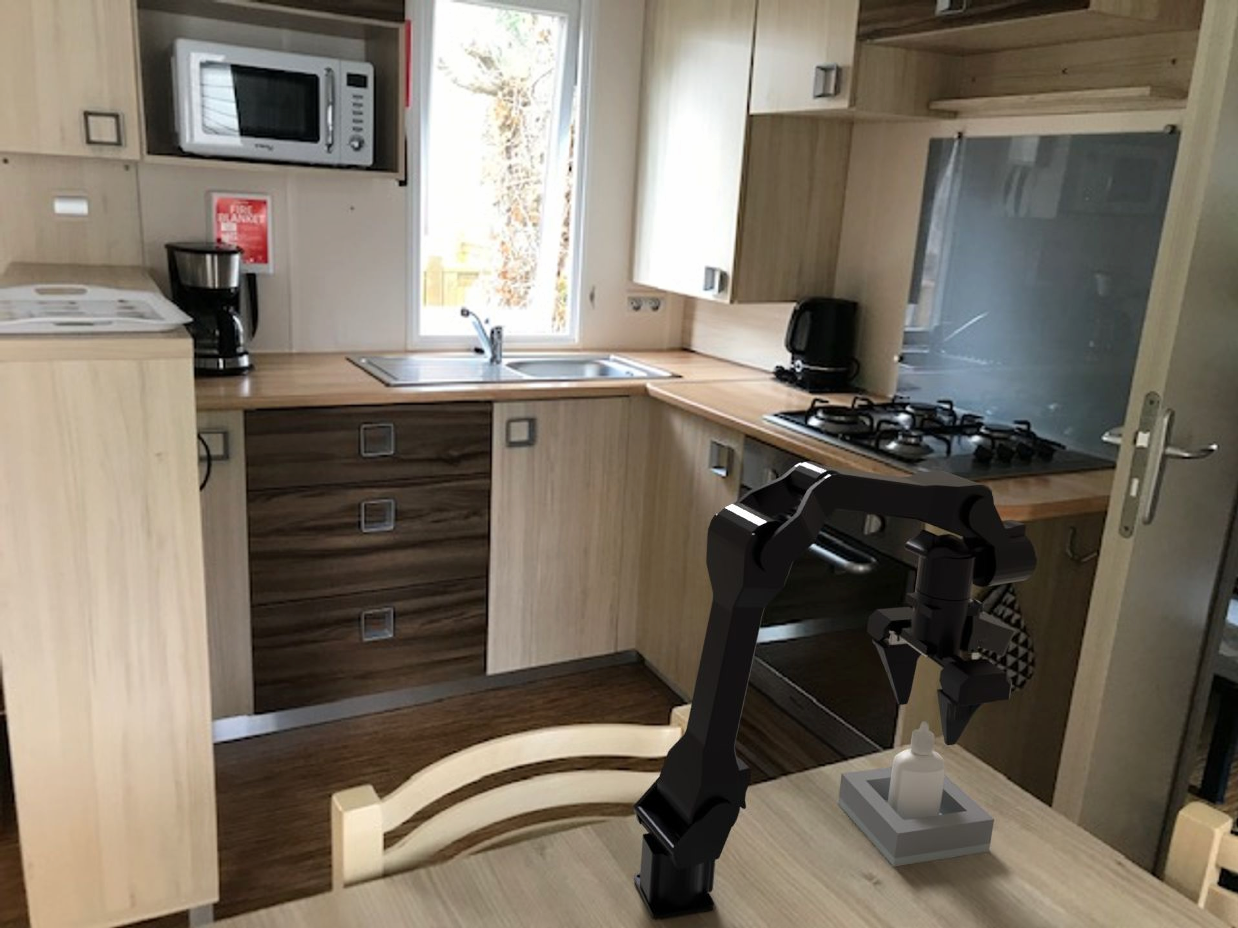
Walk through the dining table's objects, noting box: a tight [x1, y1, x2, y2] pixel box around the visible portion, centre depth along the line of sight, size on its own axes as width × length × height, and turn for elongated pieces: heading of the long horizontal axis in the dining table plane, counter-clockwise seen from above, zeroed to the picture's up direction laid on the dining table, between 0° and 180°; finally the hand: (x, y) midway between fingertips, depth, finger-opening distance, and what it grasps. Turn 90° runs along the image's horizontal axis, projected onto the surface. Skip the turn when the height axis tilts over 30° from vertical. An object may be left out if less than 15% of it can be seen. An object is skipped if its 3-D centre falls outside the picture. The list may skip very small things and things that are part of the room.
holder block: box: [837, 766, 995, 867], centre depth 114 cm, size 12×12×4 cm
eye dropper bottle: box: [888, 720, 947, 820], centre depth 113 cm, size 4×6×12 cm
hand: (925, 723), depth 112 cm, fingers open, 9 cm apart
